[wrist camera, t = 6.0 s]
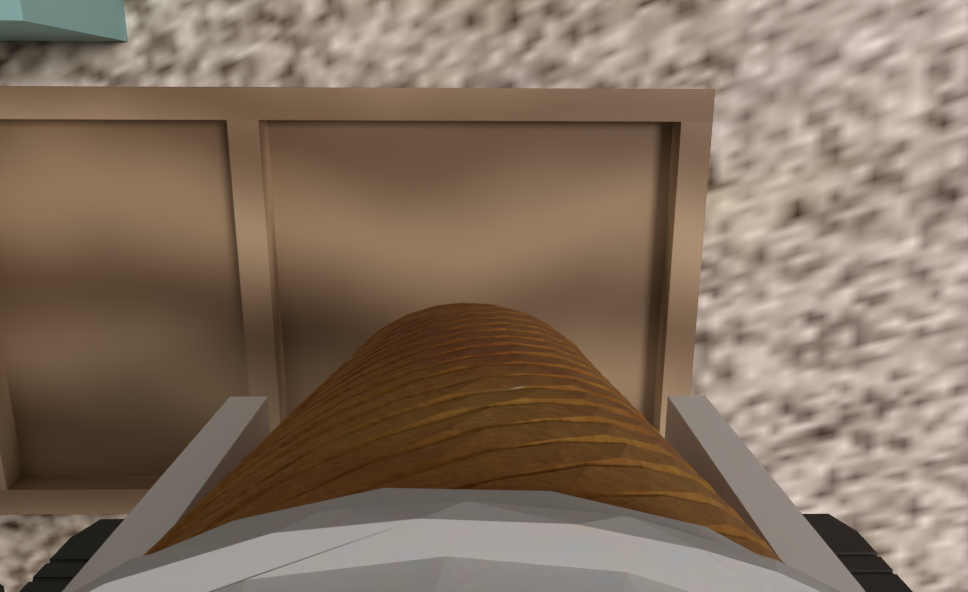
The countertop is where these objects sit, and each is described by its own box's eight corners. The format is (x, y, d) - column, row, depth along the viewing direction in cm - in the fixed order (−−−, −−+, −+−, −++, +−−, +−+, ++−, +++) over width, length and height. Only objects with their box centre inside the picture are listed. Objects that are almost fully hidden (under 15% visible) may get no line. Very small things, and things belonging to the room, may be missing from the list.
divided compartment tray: (-43, 88, 25) (-99, 85, 22) (691, 91, 25) (715, 89, 23) (25, 480, 29) (-17, 514, 26) (663, 478, 29) (680, 511, 26)
